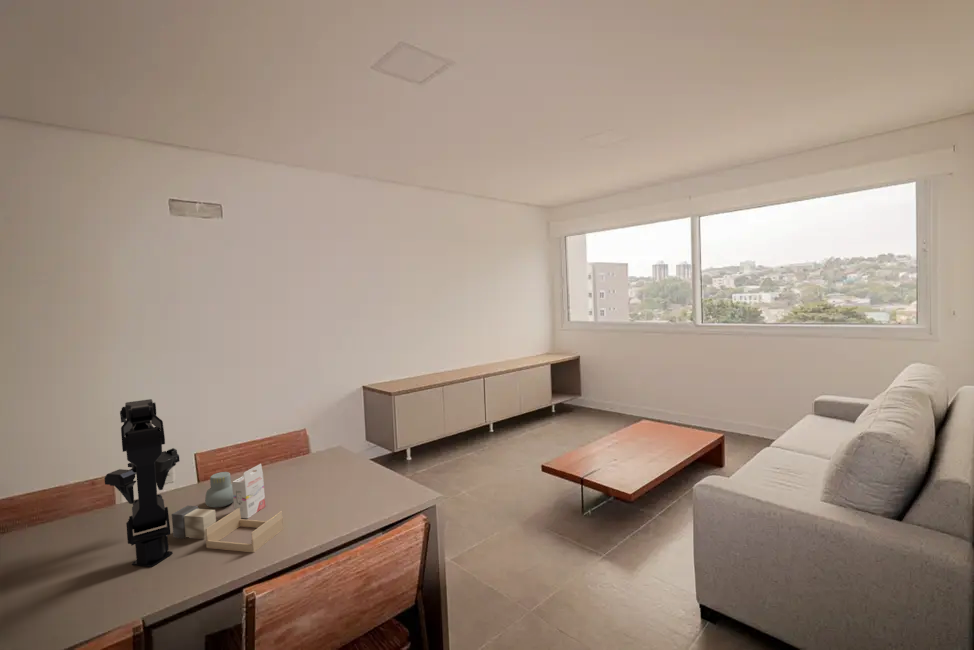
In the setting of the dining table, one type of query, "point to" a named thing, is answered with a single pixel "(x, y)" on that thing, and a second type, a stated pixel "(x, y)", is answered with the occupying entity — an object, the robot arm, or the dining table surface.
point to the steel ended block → (192, 522)
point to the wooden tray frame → (233, 521)
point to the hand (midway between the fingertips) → (146, 496)
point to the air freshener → (219, 490)
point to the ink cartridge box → (249, 492)
